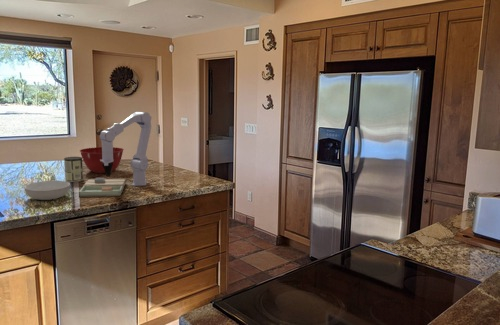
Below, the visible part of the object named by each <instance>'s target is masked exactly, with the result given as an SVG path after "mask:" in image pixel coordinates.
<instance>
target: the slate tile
mask: <svg viewBox="0 0 500 325" xmlns="http://www.w3.org/2000/svg"><path fill="white" fill-rule="evenodd" d="M94 179H95V183H104V182H105V179H106V177H95V178H94Z"/></svg>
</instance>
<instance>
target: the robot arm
mask: <svg viewBox="0 0 500 325" xmlns="http://www.w3.org/2000/svg"><path fill="white" fill-rule="evenodd" d="M135 123H136V124H138V125H139V127H140V128H141V130H140V134H139V139H138V144H137V147H136V148H137V149H136V153H135V154H134V155H133V156H132V160H131V161H130V164H129V165H130V167H131V168H132V175H133V176H132V178H133V180H132V181H133V182H132V184H131V186H133V187H134V186H135V187H136V186H138V187H139V186H141V187H142V186H147V181H146V179H147V178H146V170H148V167H149V163H148V161H149V159H148V156H147V151H148V146H149V141H150V140H149V139H150V137H151V136H150V135H151V131H152V116H151V115H150V113H149V112H146V111H134V113H131V114H130V116H128V117H127V118H125V119H124V120H123V121H122V122H117V123H116V122H115V123H113V125H112V126H110V127H108V128H106V130H102V131H101V132H100V135H98V136H99V139H100V141H101V147H102V160H100V161H102V162H103V164H102V166H103V167H104V170H105V173H104V174H105V176H106V177H111V175H112V172H111V169H112V166H113V164H114V163H110V162H113V161H114V160H113V147H114V142H113V141H114V140H115V138H116V137H117V136H119V135H120V134H121V133H123V132H124V130H125V129H126V128H127V127H128V126H131V125H132V124H135Z"/></svg>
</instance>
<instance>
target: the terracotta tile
mask: <svg viewBox="0 0 500 325" xmlns="http://www.w3.org/2000/svg"><path fill="white" fill-rule="evenodd" d="M112 190H113V188H112V187H103V188H102V191H112Z"/></svg>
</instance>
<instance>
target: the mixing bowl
mask: <svg viewBox="0 0 500 325" xmlns="http://www.w3.org/2000/svg"><path fill="white" fill-rule="evenodd" d="M124 150H125V149H124V148H123V147H114V146H113V160H114V161H113V162H110V163H114V164H113V166H112V169H111V173H112V172H114V171H115V170H117V168H118V167H119V165H120V163H121V160H122V158H123V153H124ZM79 153H80V154H81V157H82V161H83V162H84V165H85V166H86V168H87V169H88V170H89V171H90V172H93V173H94V174H105V170H104V167H103V166H102V164H103V162H102V161H100V160H102V146H101V147H98V146H97V147H95V146H94V147H87V148H81V149H80V150H79Z"/></svg>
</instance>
